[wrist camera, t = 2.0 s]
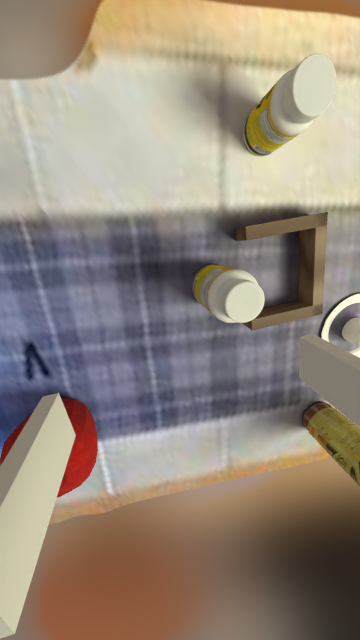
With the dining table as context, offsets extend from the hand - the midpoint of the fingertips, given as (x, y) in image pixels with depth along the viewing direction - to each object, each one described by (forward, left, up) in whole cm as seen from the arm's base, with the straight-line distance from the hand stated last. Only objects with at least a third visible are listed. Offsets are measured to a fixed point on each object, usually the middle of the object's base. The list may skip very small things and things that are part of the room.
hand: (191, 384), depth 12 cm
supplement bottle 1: (-1, +7, -19) cm, 21 cm away
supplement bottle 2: (-17, +15, -19) cm, 30 cm away
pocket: (-1, +16, -19) cm, 25 cm away
